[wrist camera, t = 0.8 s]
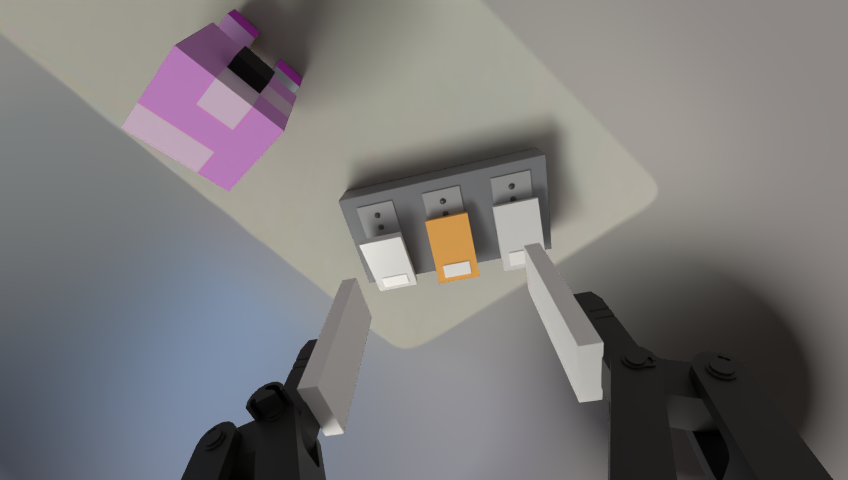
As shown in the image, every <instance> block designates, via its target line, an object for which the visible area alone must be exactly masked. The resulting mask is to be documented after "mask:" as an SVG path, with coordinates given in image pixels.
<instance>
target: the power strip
mask: <svg viewBox="0 0 848 480" xmlns="http://www.w3.org/2000/svg"><path fill="white" fill-rule="evenodd" d="M532 197H537V198H538V203H539V210H540V218H541V225H542V233H543V240H544V248H545V250H546V249H551V234H550V219H549V203H548V187H547V172H546V156H545V154H544V153H542V152H541V151H539V150H538V149H537V148H534V149H530V150H525V151H521V152H517V153H512V154H508V155H503V156H499V157H495V158H490V159H486V160H482V161H477V162H473V163H468V164H464V165H460V166H455V167H451V168H447V169H442V170H438V171H433V172H429V173H425V174H420V175H416V176H411V177H407V178H403V179H398V180H394V181H390V182H385V183H381V184H376V185H372V186H368V187H363V188H359V189H355V190H350V191H346V192H345V193H344V194H343V196H342V197H341V199H340V200H339V204H340V206H341V209H342V211H343V214H344V217H345V219H346V222H347V225H348V227H349V230H350V233H351V235H352V238H353V240H354V243H355V246H356V248H357V251H358V254H359V256H360V259H361V262H362V264H363V267H364V269H365V272H366V275H367V277H368V280H369V283H373V282H376V280H375V278H374V276H373V274H372V272H371V270H370V268H369V265H368V263H367V261H366V259H365V257H364V255H363V253H362V250H361V248H360V246H359V243H360V240H363V239H368V238H372V237H377V236H382V235H387V234H392V233H396V232H401V234H402V237H403V240H404V242H405V245H406V248H407V251H408V254H409V257H410V259H411V262H412V265H413V268H414V271H415V274H420V273H425V272H430V271H436V267H435V262H434V258H433V254H432V249H431V245H430V241H429V237H428V232H427V228H426V224H425V220H427V219H432V218H437V217H442V216H446V215H451V214H456V213H461V212H465V211H467V214H468V219H469V224H470V229H471V234H472V239H473V245H474V250H475V255H476V260H477V263H478V262H483V261H488V260H494V259H499V258H501V254H500V249H499V243H498V237H497V231H496V225H495V220H494V214H493V208H492V206H494V205H499V204H503V203H508V202H513V201H518V200H522V199H527V198H532Z"/></svg>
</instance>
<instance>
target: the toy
mask: <svg viewBox="0 0 848 480" xmlns="http://www.w3.org/2000/svg"><path fill="white" fill-rule="evenodd" d="M259 34H260V32H259V31H258V30H257V29H256V28H255V27H254V26H252V25H251V24H250V23H249V22H248V21H247V20H246V19H245V18H244V17H243V16H242V15H241V14H240V13H239V12H238V11H237V10H235V9H234V10H233V11H231V12H229V13H228V14H227V15H226V17H225V18H224V19H223V21H222V22H221V24H220V25H219V27H217V26H216V25H215V24H214V23H211V24H209V25H208V26H206V27H204V28H203V29H201V30H199V31H198V32H196V33H194V34H193V35H191V36H189V37H188V38H186V39H184V40H183V41H181V42H179V43H178V44H176V45H174V47H173V48H172V50H171V52H170V53H169V55H168V56H167V58H166V59H165V61H164V62H163V64H162V65H161V67H160V68H159V70H158V71H157V73H156V75H155V76H154V78H153V79H152V81H151V82H150V84H149V85H148V87H147V88H146V90H145V91H144V93H143V94H142V96H141V98H140V99H139V101H138V102H137V104H136V105H135V107H134V108H133V110H132V111H131V113H130V114H129V116H128V117H127V119H126V121H125V122H124V124H123V125H122V127H121V128H122V129H124V130H125V131H127V132H129V133H130V134H132V135H134V136H136V137H137V138H139V139H141V140H142V141H144V142H146V143H147V144H149V145H151V146H153V147H154V148H156V149H158V150H159V151H161V152H163V153H164V154H166V155H168V156H170V157H171V158H173V159H175V160H176V161H178V162H180V163H181V164H183V165H185V166H187V167H188V168H190V169H192V170H193V171H195V172H197V173H198V174H200V175H202V176H204V177H205V178H207V179H209V180H210V181H212V182H214V183H215V184H217V185H219V186H221V187H222V188H224V189H226V190H227V191H230V189H231V188H232V187H233V186H234V185H235V184H236V183H237V182H238V181H239V180H240V179H241V177H242V176H243V175H244V174H245V173H246V172H247V171H248V170H249V169H250V168H251V167H252V165H253V164H254V163H255V162H256V161H257V160H258V159H259V158H260V157H261V156H262V155H263V153H264V152H265V151H266V150H267V149H268V148H269V147H270V146H271V145H272V144H273V143H274V141H275V140H276V139H277V138H278V137H279V136H280V135H281V134H282V133H283V132H284V130H285V127H286V124H287V121H288V118H289V116H290V113H291V110H292V107H293V104H294V101H295V99H296V95H295V94H294V93H295V92H296V91H297V90H298V88H299V87H300V85H301V82H302V78H301V77H300V76H299V75H297V74H296V73H295V72H294V71H293V70H292V69H291V68H290V67H289V66H288V65H287V64H286V63H285V62H283V61H282V60H281V59H280V60H279V61H278V63H277V64H276V65H275V66H274V68H273V69H271V68H270V67H269V66H268V65H267V64H266V63H264V62H263V61H262V60H261V59H260V58H259V57H258V56H257V55H255V54H254V53H253V52H252V51H251V50H250V49H249V47H250V46H251V45H252V43H253V42H254V41H255V39H256V38H257V37H258V35H259Z"/></svg>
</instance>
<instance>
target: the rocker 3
mask: <svg viewBox="0 0 848 480" xmlns="http://www.w3.org/2000/svg"><path fill="white" fill-rule="evenodd" d="M492 208H493V214H494V220H495V225H496V231H497V237H498V243H499V249H500V254H501V260H502V266H503V270H504V271H510V270H515V269H520V268H526V263H525V253H524V245H529V244H535V243H540V244H541V246H542V248H543V249H544V251H545V248H544V240H543V233H542V225H541V218H540V210H539V203H538V198H537V197H532V198H527V199H522V200H518V201H513V202H508V203H503V204H499V205H494V206H492Z"/></svg>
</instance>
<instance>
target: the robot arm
mask: <svg viewBox="0 0 848 480" xmlns="http://www.w3.org/2000/svg"><path fill="white" fill-rule="evenodd" d="M524 253H525V263H526V272H527V281H528V290H529V292H530V294H531V297H532V299H533V301H534V303H535V305H536V308H537V310H538V312H539V314H540V316H541V318H542V321H543V323H544V325H545V327H546V330H547V332H548V334H549V336H550V338H551V340H552V343H553V345H554V347H555V349H556V352H557V354H558V356H559V358H560V361H561V363H562V365H563V367H564V369H565V372H566V374H567V376H568V378H569V380H570V383H571V384H572V387H573V389H574V391H575V394H576V396H577V398H578V400H579V402H587V401H594V400H602V389H603V391H604V393H605V395H606V397H607V398H608V400H609V411H608V423H609V425H608V426H609V427H608V428H609V429H608V480H677V477H676V470H675V462H674V455H673V448H672V441H671V434H670V427H673V428H678V429H684V430H685V431H686V433H687V435H688V438H689V440H690V442H691V444H692V446H693V448H694V450H695V453H696V455H697V457H698V459H699V461H700V463H701V465H702V467H703V470H704V472H705V474H706V476H707V478H708V480H833V479H832V478H831V476H830V475H829V474H828V473H827V471H826V470H825V468H824V467H823V466H822V464H821V463H820V462H819V461H818V459H817V458H816V457H815V455H814V454H813V453H812V451H811V450H810V449H809V447H808V446H807V445H806V443H805V442H804V441H803V439H802V438H801V437H800V436H799V434H798V433H797V432H796V430H795V429H794V428H793V426H792V425H791V424H790V422H789V421H788V420H787V419H786V417H785V416H784V414H783V413H782V412H781V411H780V409H779V408H778V407H777V406H776V404H775V403H774V401H773V400H772V399H771V397H770V396H769V395H768V394H767V392H766V391H765V390H764V388H763V387H762V386H761V384H760V383H759V382H758V380H757V379H756V378H755V376H754V375H753V374H752V373H751V371H750V370H749V369H748V368H747V367H746V366H745V365H744V364H743V363H741V362H740V361H738V360H736V359H734V358H733V357H730V356H728V355H724V354H722V353H716V352H702V353H699V354H697V355H695V356H694V357H693V359H692V362H682V361H673V360H665V359H661V358H658V357H656V356H655V355H654V354H653V353H652V352H650V351H649V350H647V349H645V348H643V347H639V346H638V345H637V344H636V343H635V341H634V340H633V339H632V337H631V336H630V335H629V334H628V332H627V331H626V330H625V328H624V327H623V326H622V324H621V323H620V322H619V320H618V319H617V318H616V317H615V316H614V314H613V312H612V311H611V310H610V309H609V307H608V306H607V305H606V303H605V302H604V301H603V299H602V298H600V297H599V296H597V295H596V294H594V293H592V292H585V293H579V294H572V293H571V291H570V290H569V288H568V287H567V285H566V283H565V282H564V280H563V279H562V277H561V276H560V274H559V272H558V271H557V269H556V268H555V266H554V265H553V263H552V262H551V260H550V258H549V257H548V255H547V254H546V252H545V251H544V249H543V248H542V246H541V244H540V243H535V244H529V245H524ZM371 318H372V317H371V314H370V312H369V309H368V307H367V304H366V302H365V299H364V297H363V294H362V292H361V289H360V287H359V284H358V282H357V279H356V278H353V279H348V280H343V281H342V283H341V285H340V288H339V290H338V292H337V295H336V297H335V299H334V302H333V304H332V307H331V309H330V311H329V314H328V316H327V318H326V321H325V323H324V326H323V328H322V330H321V333H320V335H319V338H318V339H315V340H309V341H308V342H307V343H306V344H305V346H304V347H303V348H302V349H301V350H300V353H299V355H298V357H297V359H296V362H295V363H294V365H293V369H292V370H291V372H290V374H289V376H288V378H287V380H286V382H285V384H284V386H283V384H281V383H279V382H271V383H268V384H266V385H264V386H262V387H261V388H259V389H258V390H257V391H256V392H255V393H254V394H252V396H251V397H250V399H249V400H248V402H247V405H246V409H247V410H248V411H249V413H250V414H251V415H252V417H253V418H254V419H255V420H254V421H252V422H249V423H247V424H245V425H243V426H240V427H238V428H237V427H236V426H235V425H234V424H233V423H232V422H229V421H228V422H222V423H220V424H218V425H216V426H214V427H213V428H211V429H210V430H209V431H207V433H206V434H205V435H204V436H203V437H202V438H201V439H200V441H199V443H198V444H197V446H196V448H195V450H194V452H193V454H192V457H191V459H190V461H189V463H188V465H187V468H186V470H185V472H184V474H183V476H182V479H181V480H326V477H325V471H324V464H323V458H322V452H321V445H320V443H319V440H318V439H317V435H318V432H319V429H320V428H321V429H322V431H323V433H324V434H325V435H326V436H328V435H337V434H344V432H345V428H346V424H347V420H348V416H349V411H350V407H351V403H352V398H353V394H354V390H355V386H356V382H357V378H358V373H359V369H360V365H361V360H362V356H363V352H364V347H365V344H366V340H367V335H368V331H369V327H370V323H371Z"/></svg>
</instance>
